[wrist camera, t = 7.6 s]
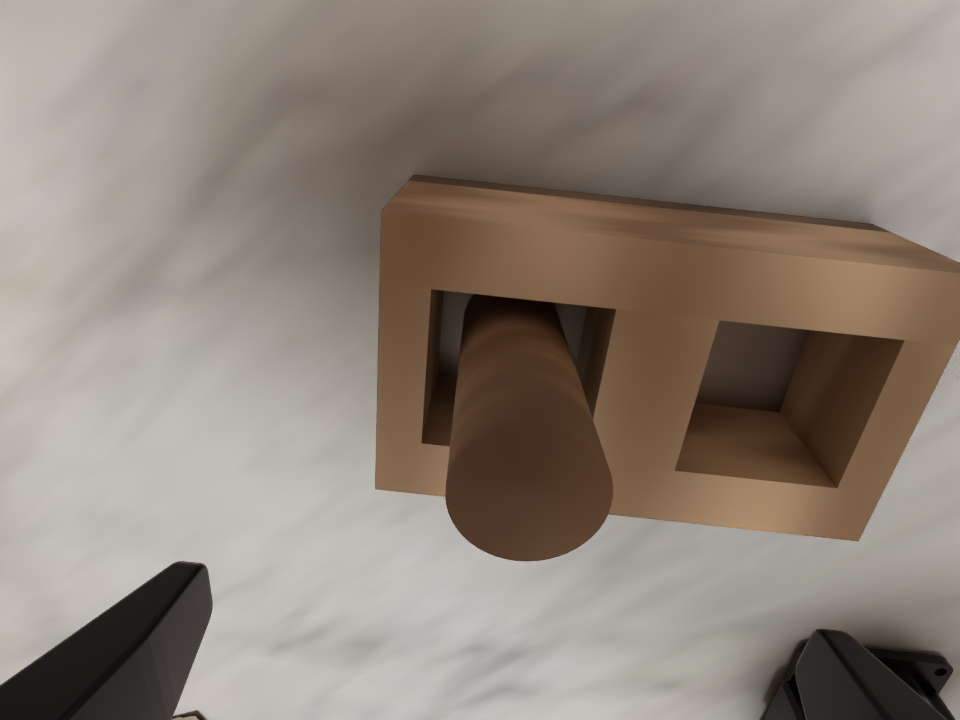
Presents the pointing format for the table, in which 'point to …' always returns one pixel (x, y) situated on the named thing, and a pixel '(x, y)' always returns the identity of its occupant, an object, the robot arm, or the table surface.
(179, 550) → the table surface
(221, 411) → the table surface
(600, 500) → the dowel
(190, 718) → the condiment
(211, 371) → the table surface
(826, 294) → the bore block
